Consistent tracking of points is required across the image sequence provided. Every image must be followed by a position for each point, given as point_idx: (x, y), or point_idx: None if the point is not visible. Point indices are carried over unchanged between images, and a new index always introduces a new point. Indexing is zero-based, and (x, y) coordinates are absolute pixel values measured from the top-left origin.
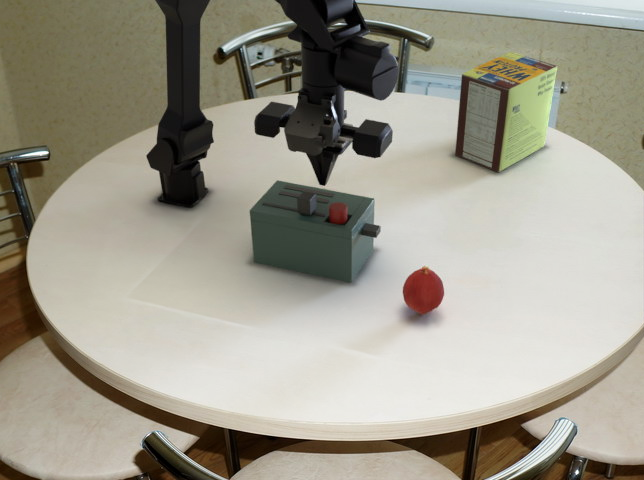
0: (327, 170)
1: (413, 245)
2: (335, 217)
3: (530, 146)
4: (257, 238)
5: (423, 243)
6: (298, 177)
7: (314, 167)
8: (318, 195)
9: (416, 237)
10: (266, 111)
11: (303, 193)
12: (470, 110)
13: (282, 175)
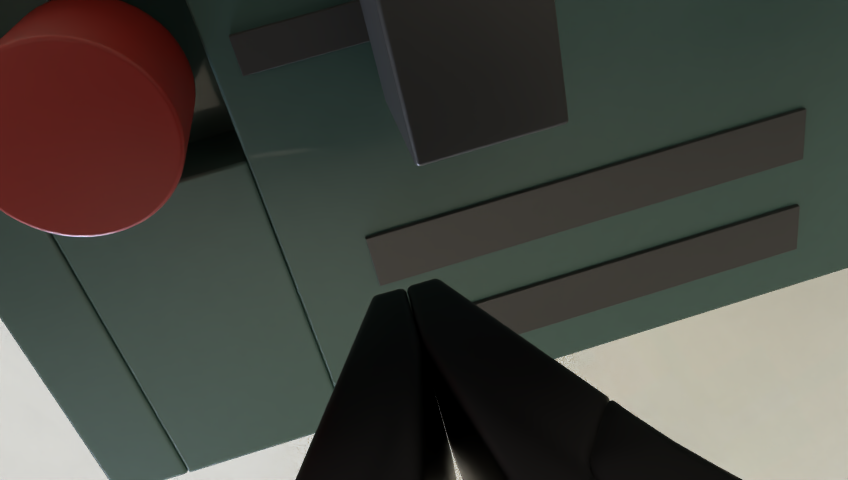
0: (319, 457)
1: (36, 395)
2: (34, 19)
3: None
4: None
5: (13, 432)
6: (776, 454)
7: (552, 394)
8: (505, 282)
9: (80, 446)
10: None
11: (538, 77)
12: None
13: (839, 429)
